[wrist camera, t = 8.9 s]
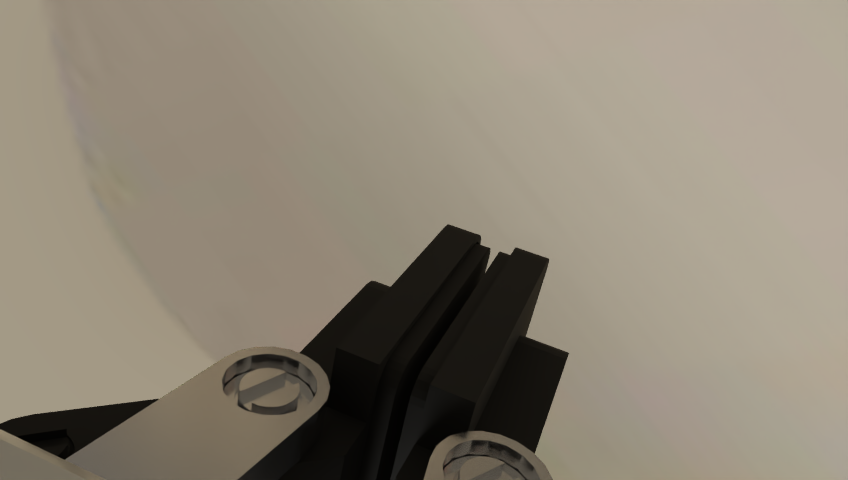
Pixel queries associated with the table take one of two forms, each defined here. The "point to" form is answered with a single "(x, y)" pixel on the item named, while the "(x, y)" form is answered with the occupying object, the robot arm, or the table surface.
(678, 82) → the table surface
